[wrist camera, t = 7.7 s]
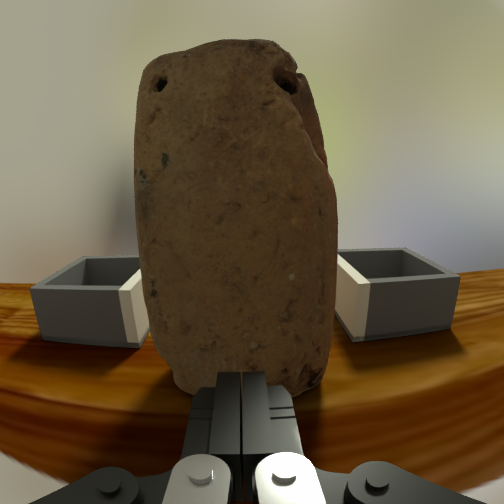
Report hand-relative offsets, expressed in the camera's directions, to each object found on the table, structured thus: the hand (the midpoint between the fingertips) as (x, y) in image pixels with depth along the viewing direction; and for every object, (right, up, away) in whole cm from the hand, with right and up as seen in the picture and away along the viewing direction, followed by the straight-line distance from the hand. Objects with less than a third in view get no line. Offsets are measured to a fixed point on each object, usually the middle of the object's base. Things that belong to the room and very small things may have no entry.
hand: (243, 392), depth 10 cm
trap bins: (0, -2, +20) cm, 20 cm away
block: (0, -4, +11) cm, 12 cm away
